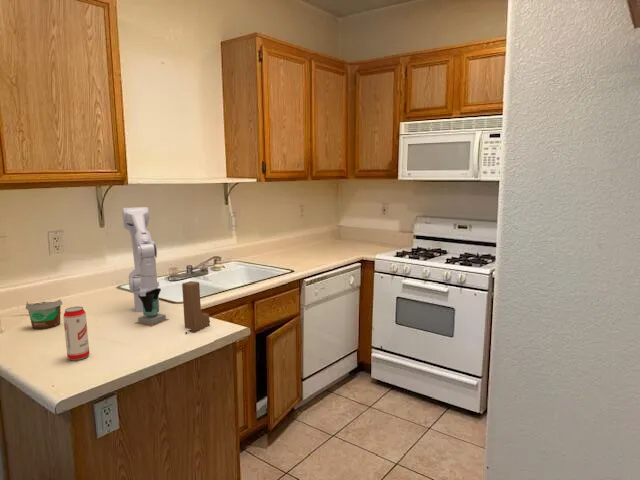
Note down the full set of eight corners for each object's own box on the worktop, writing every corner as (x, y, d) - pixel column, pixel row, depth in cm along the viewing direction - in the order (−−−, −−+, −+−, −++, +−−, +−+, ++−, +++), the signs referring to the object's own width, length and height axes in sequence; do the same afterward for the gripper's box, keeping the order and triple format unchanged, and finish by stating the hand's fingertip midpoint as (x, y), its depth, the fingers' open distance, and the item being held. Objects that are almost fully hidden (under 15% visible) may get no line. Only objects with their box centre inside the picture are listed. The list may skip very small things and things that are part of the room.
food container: (22, 332, 168) (19, 306, 166) (28, 327, 174) (25, 301, 172) (60, 329, 171) (57, 303, 169) (64, 323, 177) (61, 298, 175)
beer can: (93, 353, 147) (88, 305, 145) (84, 361, 141) (79, 311, 139) (73, 353, 147) (69, 306, 145) (63, 361, 141) (58, 312, 138)
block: (147, 311, 176) (146, 299, 175) (159, 311, 176) (158, 298, 175) (143, 315, 172) (142, 302, 171) (155, 315, 172) (154, 302, 171)
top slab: (152, 317, 179) (152, 312, 179) (165, 319, 176) (165, 314, 176) (138, 322, 173) (138, 317, 172) (151, 325, 170) (151, 320, 169)
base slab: (152, 321, 181) (152, 316, 180) (169, 324, 177) (169, 319, 176) (134, 328, 173) (134, 323, 172) (151, 331, 169) (151, 326, 168)
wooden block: (200, 323, 175) (198, 278, 172) (210, 325, 173) (207, 279, 170) (184, 331, 167) (181, 283, 164) (194, 332, 165) (191, 284, 162)
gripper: (145, 270, 179) (147, 304, 181) (130, 279, 164) (132, 315, 166) (163, 270, 179) (165, 304, 181) (149, 279, 164) (152, 315, 166)
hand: (151, 309), depth 174 cm, fingers closed on block, 4 cm apart
